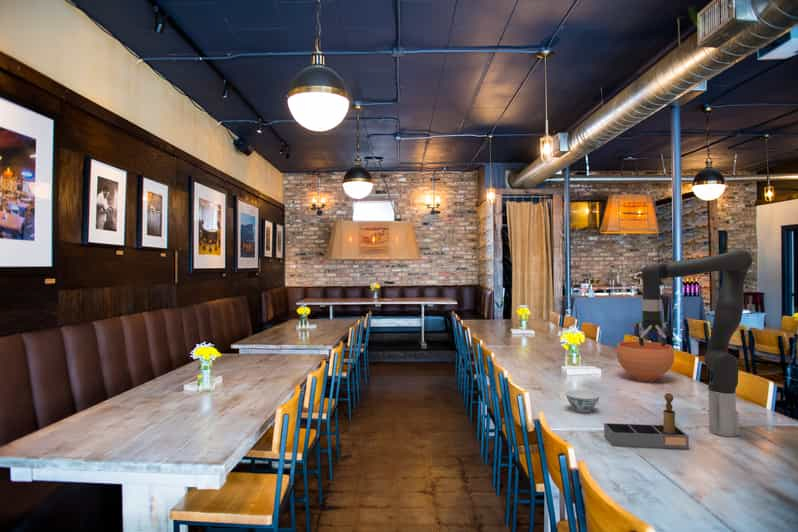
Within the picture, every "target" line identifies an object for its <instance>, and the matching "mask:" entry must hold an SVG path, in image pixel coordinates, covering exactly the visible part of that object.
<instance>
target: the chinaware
mask: <svg viewBox="0 0 798 532" xmlns="http://www.w3.org/2000/svg"><path fill="white" fill-rule="evenodd" d="M565 396H566V399H567V401H568V403H569V404H570V405H571V407H573V408H574V409H575V411H576V410H577V412H579V411H581V412H580V413H590V412H591V410H592V409H594V408H595V407H596V406H597V404H598V403H599V401H600V394H599V393H597V392H594V391H592V390H591V391H590V390H585V389H571V390H568V391H566V392H565Z"/></svg>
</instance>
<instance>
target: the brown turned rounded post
mask: <svg viewBox="0 0 798 532" xmlns="http://www.w3.org/2000/svg"><path fill="white" fill-rule="evenodd" d="M664 400H665V401H666V404H665V409H664V410H663V411H662V412H663V413H662V414H663V425H664V430H663V431H661V433H662V434H667V435H678V434H677V433H676V432H675V426H676V411H674V410H673V404H672V402H673V400H674V395H673V394H672V393H665V394H664Z"/></svg>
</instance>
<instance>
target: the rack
mask: <svg viewBox="0 0 798 532" xmlns="http://www.w3.org/2000/svg"><path fill="white" fill-rule="evenodd" d="M663 430H664V424H643V423H642V424H639V423H638V424H637V423H614V422H613V423H612V422H611V423H610V422H604V423H603V436H604V437H605V439H606V440H607V441H608V443H609V444H610V445H611V446H612V447H628V448H629V447H632V448H652V449H673V450H675V449H678V450H689V449H690V448H689V447H690V440H689V435H688V434H687V433H685V432H684V431H683V430H682V429H681V428H679V426H677V425H675V432H676V433H677V434H678V435H667V434H662V433H661V431H663Z"/></svg>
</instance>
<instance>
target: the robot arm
mask: <svg viewBox="0 0 798 532" xmlns="http://www.w3.org/2000/svg"><path fill="white" fill-rule="evenodd" d="M752 264H753V256H752V255H751V253H750V252H748V251H746V250H744V249H734V250H731V251H728V252H725V253H724V252H723V253H721V254H717V255H712V256H711V255H710V256H707V257H699V258H689V259H681V260H676V261H670V262H664V263H654V264H653V263H652V264H647V265H645V266H644V267H642V270H641V282H642V293H641V294H642V301H641V302H642V303H641V312H642V313H641V317H642V318H641V322H640V323H639V322H634V327H633V328H634V330H633V336H635V337H637V338H638V341H639V345H640V346H644V342H645V340H644V336H646V335H647V333H648V334H649V333H650V334H651V333H655V334H658V335H659V336H660V343H661V346H662V347H664V346H665V345H666V344H667V338H669V337H671V336H672V335H671V326H670V323H669V322H662V320H663V319H662V318H663V317H662V315H663V314H662V309H663V308H662V301H661V297H662V295H661V294H662V293H661V288H660V283H661V281H660V280H661V279H663V280H664V279H668V278H669V279H671V278H684V277H689V276H696V275H699V274H705V273H711V272H723V273H722V275H723V276H722V283H721V286H720V289H719V293H718V296H717V299H716V304H715V307H714V314H713V315H714V316H713V323H712V325H711V327H712V328H711V332H710V333H711V334H710V337H709V342H708V345H707V348H706V351H705V356H704V365H705V367H706V368H707V369H708V370H709V371H710V372H711V371H712V372H713V373H712V380H711V381H709V382H708V384H707V388H708V389H707V390H708V431H709V433H712V434H713V433H714V435H716V436H721V435H722V437H734V436H733V435H740V423H739V420H740V419H739V411H737V395H736V392H737V391H736V390H737V387H738V384H739V362H738V360H737V359H738V358H736V357H735V355H733V354H731V353H729V345H730V342H731V339H732V337H733V335H734V334H735V333H736V331H737V330H738V328H739V326H740V325H741V323H742V317H743V313H744V304H745V302H744V301H745V299H744V298H745V296H744V295H745V293H744V289H745V288H744V286H745V281H746V277H747V273H748V271H749V269H750V268H751V267H752ZM641 327H642V330H640V329H641ZM662 327H663V328H664V332H663V330H662Z"/></svg>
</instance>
